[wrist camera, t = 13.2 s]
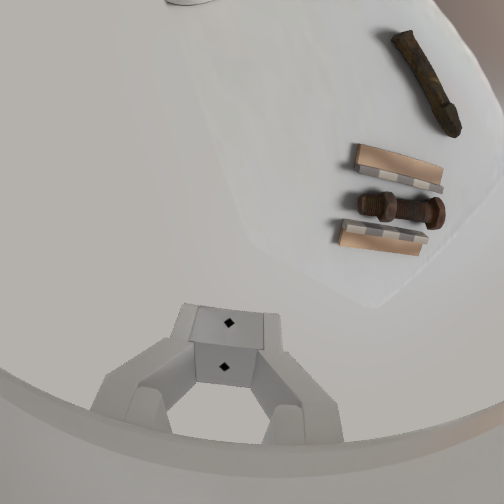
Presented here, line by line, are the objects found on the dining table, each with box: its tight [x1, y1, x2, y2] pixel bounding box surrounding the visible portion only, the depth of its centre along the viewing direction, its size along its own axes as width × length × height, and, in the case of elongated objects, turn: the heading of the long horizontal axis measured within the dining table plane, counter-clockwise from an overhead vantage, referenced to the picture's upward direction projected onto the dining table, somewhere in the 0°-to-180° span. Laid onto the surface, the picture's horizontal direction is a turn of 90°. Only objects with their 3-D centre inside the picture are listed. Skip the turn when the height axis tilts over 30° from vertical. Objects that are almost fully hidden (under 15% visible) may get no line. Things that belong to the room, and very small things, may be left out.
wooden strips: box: [338, 144, 444, 256], centre depth 40 cm, size 16×16×2 cm
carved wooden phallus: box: [391, 30, 462, 138], centre depth 29 cm, size 19×4×5 cm, turn 33°
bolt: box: [358, 192, 446, 230], centre depth 39 cm, size 6×5×15 cm
